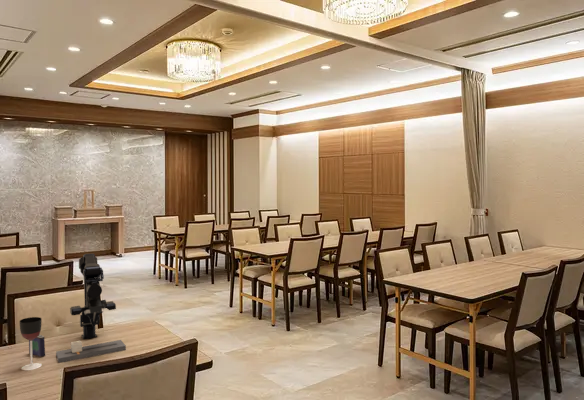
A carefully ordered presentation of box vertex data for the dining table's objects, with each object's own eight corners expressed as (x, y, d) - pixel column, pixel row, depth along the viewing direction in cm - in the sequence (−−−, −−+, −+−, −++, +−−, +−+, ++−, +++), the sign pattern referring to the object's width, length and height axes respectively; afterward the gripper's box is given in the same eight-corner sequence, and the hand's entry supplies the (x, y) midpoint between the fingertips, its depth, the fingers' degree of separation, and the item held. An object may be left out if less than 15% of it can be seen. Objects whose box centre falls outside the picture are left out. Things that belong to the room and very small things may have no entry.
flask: (27, 354, 206) (27, 331, 206) (33, 352, 208) (33, 329, 208) (41, 357, 202) (41, 334, 202) (47, 355, 205) (47, 332, 204)
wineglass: (26, 372, 186) (24, 324, 185) (17, 367, 191) (15, 320, 191) (46, 366, 192) (45, 319, 192) (36, 361, 198) (35, 316, 197)
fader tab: (71, 350, 205) (70, 342, 205) (80, 348, 207) (80, 340, 207) (72, 353, 201) (72, 345, 201) (82, 351, 203) (81, 343, 203)
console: (56, 355, 204) (56, 351, 204) (120, 343, 219) (120, 339, 219) (58, 363, 196) (58, 358, 195) (125, 349, 211) (125, 345, 211)
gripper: (72, 299, 196) (73, 335, 196) (118, 293, 206) (118, 327, 206) (69, 294, 205) (70, 328, 205) (113, 289, 215) (113, 321, 215)
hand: (93, 326), depth 208 cm, fingers closed
